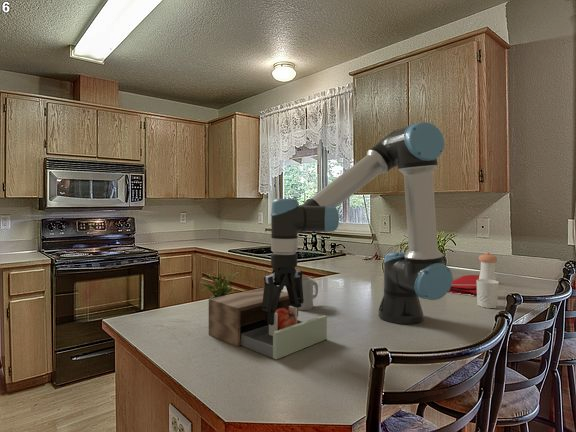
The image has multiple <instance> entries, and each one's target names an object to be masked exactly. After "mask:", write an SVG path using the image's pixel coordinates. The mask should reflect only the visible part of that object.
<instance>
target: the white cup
mask: <svg viewBox="0 0 576 432" xmlns="http://www.w3.org/2000/svg"><path fill="white" fill-rule="evenodd" d="M476 284H477V295H476V302H477V306H478V305H479V306H481V307H480V308H482V307H486V308H485V309H489V308H494V309H496V308H497V306H498V300H499V299H498V298H499V291H500V290H499V289H500V281H498V280H496V281H495V280H488V279H478V280H476ZM479 306H478V307H479Z"/></svg>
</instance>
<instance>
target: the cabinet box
mask: <svg viewBox="0 0 576 432" xmlns="http://www.w3.org/2000/svg"><path fill="white" fill-rule="evenodd" d="M263 293H264V287H260V288H255V289H249V290H246V291H241V292H237V293H236V292H235V293H231V294H226V296H221V297H216V298H211V297H210V298H211V299H210V298H208V335H209V336H211V337H213V338H216V339H218V340H220V341H223V342H226V343H228V344H230V345H232V346H235V347H240V346H241V345H240V341H241V327H244V326H247V325H250V324H251V325H252V324H254V323H258V322H261V321H264V320H265V321H268V313H267V312H264V311H262V302H263ZM289 306H292V305H291V303H290V299H289V296H288V292H287V291H283V290H281V294H280V297H279V301H278V305H277V308H276V310H277V309H281V308H285V309H287V310H289ZM271 309H272V307H271Z"/></svg>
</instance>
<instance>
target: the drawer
mask: <svg viewBox="0 0 576 432" xmlns="http://www.w3.org/2000/svg"><path fill="white" fill-rule="evenodd" d="M327 319H328V316H327V315H320V316H317V317H314V318H312V319H308V320H305V321H303V320H302V321H301V320H298V319H297V324H296V325H293V326H290V327H287V328H284V329H281V330H278V331H275V332H273V336H271V335H269V324H267V325H264V326H261V327H257V328H255V329H251V330H248V331H245V332H240V346H243V347H245V348H247V349H250V350H252V351H254V352H257V353H260V354H262V355H264V356H267V357H269V358H272V359H273V360H279V359H281V358H283V357H286V356H287V355H288V356H289V355H291V354H292V353H296V352H298V351H301V350H304V349H305V348H308V347H310V346H313V345H315V344H317V343H320V342H322V341H325V340H327V339H328V337H327V335H328V330H327V329H328V320H327Z"/></svg>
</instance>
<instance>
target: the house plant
mask: <svg viewBox="0 0 576 432" xmlns="http://www.w3.org/2000/svg"><path fill="white" fill-rule="evenodd" d="M210 273H212V274H213V272H212V271H210ZM232 273H233V271H232V272H229V273H227V274H224V276H223V272H222V270H220V271H219V274H218V275H219V276H218V277H217V276H216V275H215V274H213V275H211V274H208V273H203V274H204V275H206V276H207V277H206V279H207V280H209V279H208V278H211V280H212V284H213V285H211V284H210V283H207V282H203V281H199V283H200V284H202V285H203V286H205V287H206V288H205V287H204V288H203V289H202V291H204V290H209V291H211V293H212V294H213V295H214V296H213V295H212V296H211V297H210V298H209V299H211V298H216V297H221V296H226V295H228V293H229V292H232V291H234V290H235V289H234V288H235V286H233V285H230V284H231V281H233V280H234V279H235V277H234V276H235V275H236V274H238V273H239V271H238V272H237V271H236V272H234V273H233V274H232ZM230 274H231V275H230ZM228 275H230V276H229V278H228V279H227V277H228ZM202 277H204V278H205V276H202Z"/></svg>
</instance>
